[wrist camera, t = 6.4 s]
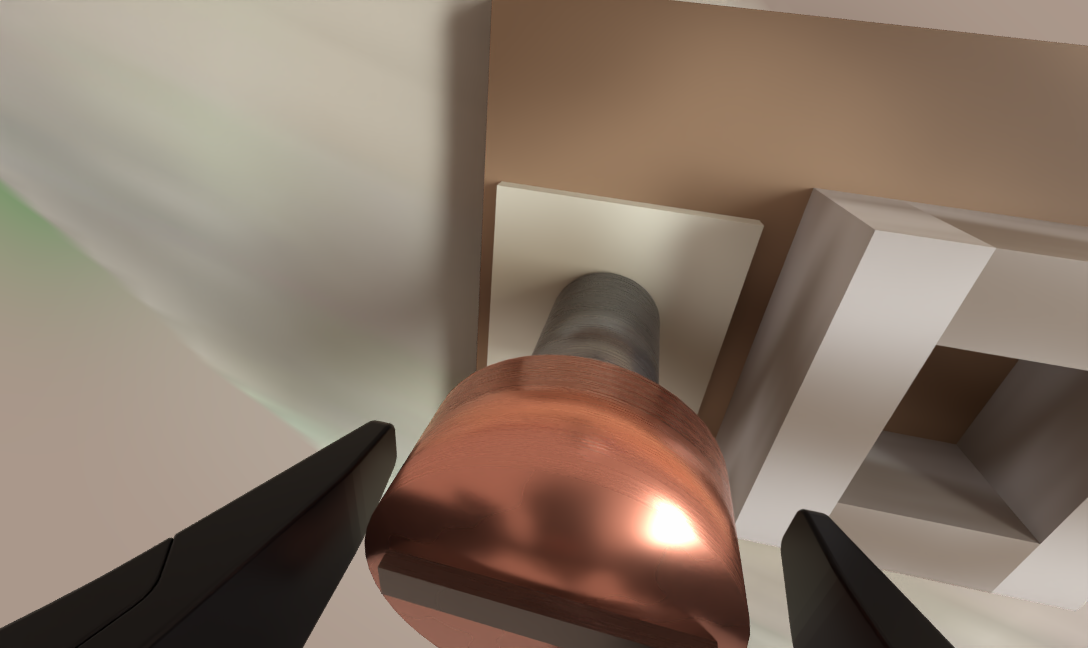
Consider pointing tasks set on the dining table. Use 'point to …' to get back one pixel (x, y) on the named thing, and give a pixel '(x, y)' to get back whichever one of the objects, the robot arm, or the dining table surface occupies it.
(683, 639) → the copper knob
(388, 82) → the dining table surface
